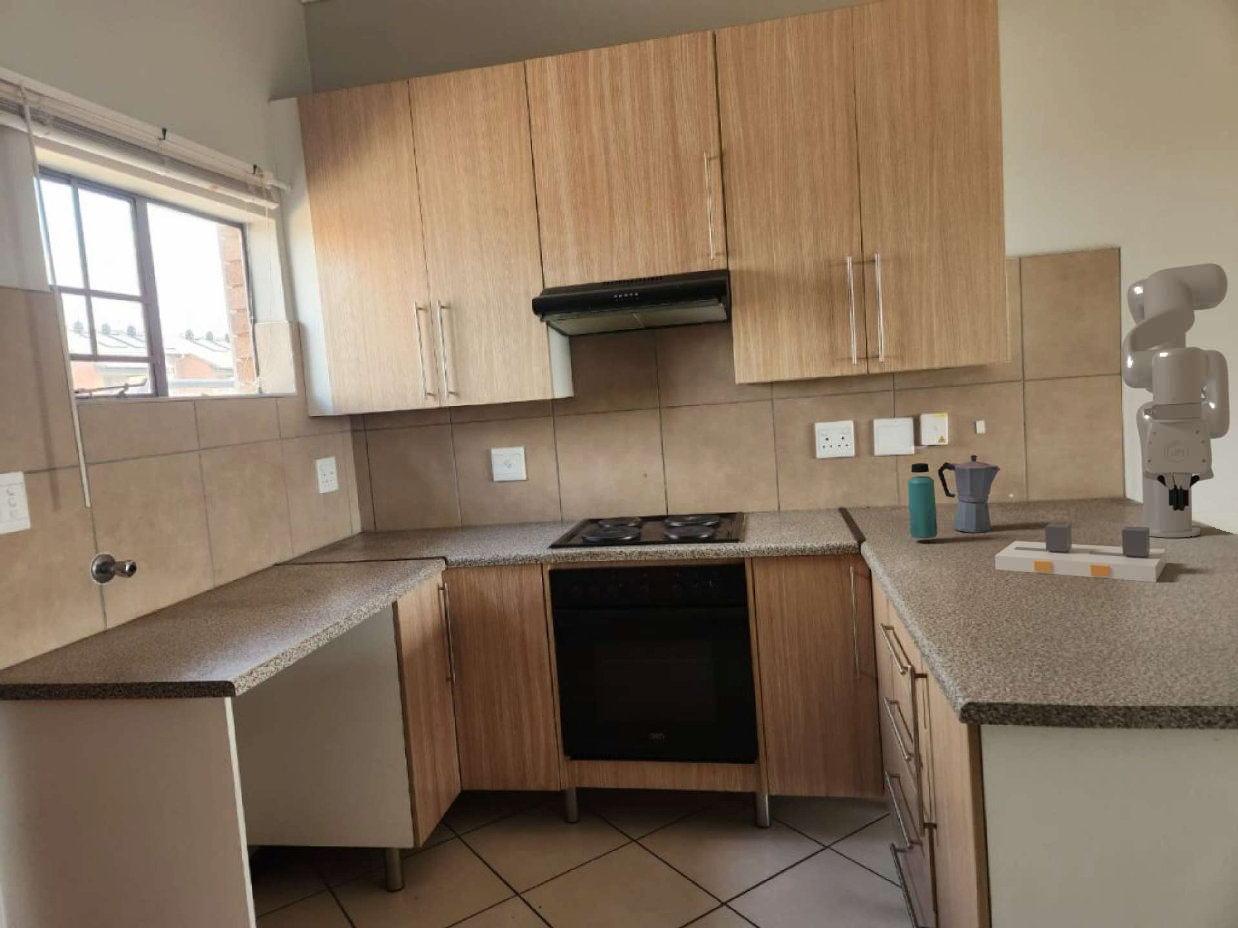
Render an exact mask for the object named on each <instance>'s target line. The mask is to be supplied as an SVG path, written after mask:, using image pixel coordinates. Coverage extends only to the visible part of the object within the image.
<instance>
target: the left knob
mask: <svg viewBox="0 0 1238 928" xmlns="http://www.w3.org/2000/svg"><path fill="white" fill-rule="evenodd" d="M1044 528H1045V543H1046V550H1050V551H1067V552H1068V551H1069V550H1070V549H1071V548H1072V544H1073V543H1072V523H1048V524H1047V525H1046V526H1045V527H1044Z"/></svg>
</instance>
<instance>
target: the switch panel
mask: <svg viewBox="0 0 1238 928" xmlns="http://www.w3.org/2000/svg"><path fill="white" fill-rule="evenodd" d="M1166 554H1167V550H1166V549H1164V548H1150V553H1149V554H1148V556H1131V555H1123V546H1112V545H1110V546H1109V545H1095V544H1093V545H1091V544H1074V543H1072V548H1071V549H1070V550H1069V551H1068V552H1067V551H1050V550H1046V542H1041V541H1025V540H1024V541H1022V540H1015V541H1013V542H1012V543H1010V544H1009V545H1007V546H1006V547H1005V548H1003V549H1002V550H1001V551H999V552H998V553H996V554H995V555H994V560H995V561H994V565H995V566H994V567H995V569H994V570H996V571H998V570H1000V571H1007V572H1008V571H1011V572H1022V573H1035V574H1046V575H1047V574H1048V575H1049V574H1050V575H1059V576H1060V575H1061V576H1074V577H1083V578H1085V577H1086V578H1098V579H1108V580H1109V579H1110V580H1111V579H1112V580H1125V581H1135V582H1136V581H1137V582H1148V583H1156V582H1157V581H1158V579H1159V577H1160V576H1161V574H1162V572H1163V570H1164V568H1165V566H1166V565H1167V555H1166Z"/></svg>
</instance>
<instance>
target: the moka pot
mask: <svg viewBox="0 0 1238 928" xmlns="http://www.w3.org/2000/svg"><path fill="white" fill-rule="evenodd" d="M977 458H978V455H975V454H973V455H970V461H967V462H962V463H953V462H952V463H950V462H944V463H943V464H942V465H941V466H940V468H938V470H937V474H938V475H937V476H938V478H939V480H940V483H941V486H942V488H943V491H944V495H945V497H948V498H949V497H950V498H952V499H953V498H955V497H956V494H955V493H951V492H950V491H949V489H948V488H949V487H948V484H947V480H946V478H945V477H946V476H945V474H944V471H945V470H949V471H953V472H954V476H955V484H956V492H957V498H958V501H957V507H956V511H955V512H956V513H955V519H954V526H953V529H954V530H956V531H959V532H963V533H975V534H976V533H977V534H978V533H979V534H980V533H989V532H990V531H992V527H991V519H990V518H991V517H990V509H989V502H988V501H989V495H990V493H991V488H992V484H993V482H994V480H995V478H996V476H997V473H998V472H999V471H1000V470H1002V469H1001V467H999V466H998V465H995V464H991V463H990V464H989V463H986V462H980V461H977Z"/></svg>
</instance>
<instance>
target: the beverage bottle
mask: <svg viewBox="0 0 1238 928" xmlns="http://www.w3.org/2000/svg"><path fill="white" fill-rule="evenodd" d="M910 472H911V473H913V474H915V473H917V474H919V473H929V472H930V468H929V463H925V462H919V463H912V464H911V471H910ZM907 489H908V515H909V533H910V536H911V537H912V538H915V539H933V538H937V536H938V531H939V530H938V523H937V515H938V514H937V513H938V512H937V505H936V495H935V493H936V492H935V480H934V479H933V478H932V477H931V476H929V475H919V476H918V475H916V476H912V477H910V478H909V480H907Z"/></svg>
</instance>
